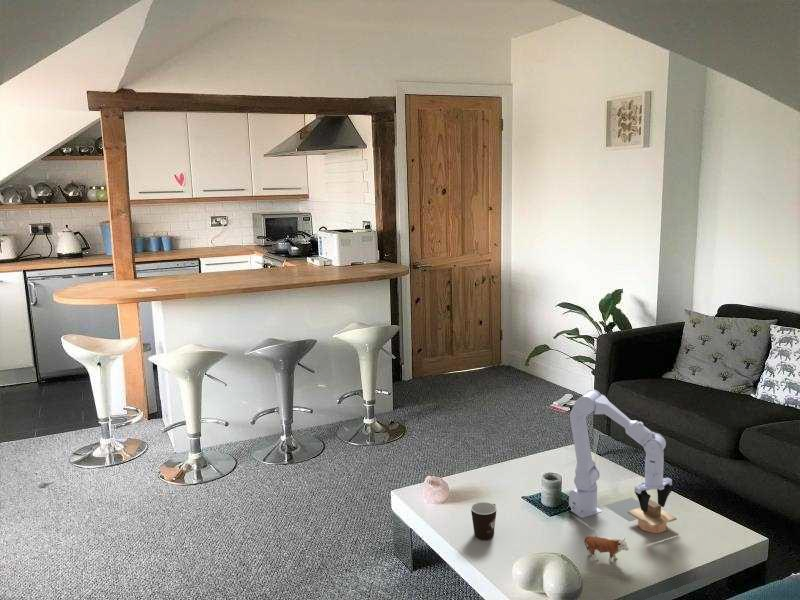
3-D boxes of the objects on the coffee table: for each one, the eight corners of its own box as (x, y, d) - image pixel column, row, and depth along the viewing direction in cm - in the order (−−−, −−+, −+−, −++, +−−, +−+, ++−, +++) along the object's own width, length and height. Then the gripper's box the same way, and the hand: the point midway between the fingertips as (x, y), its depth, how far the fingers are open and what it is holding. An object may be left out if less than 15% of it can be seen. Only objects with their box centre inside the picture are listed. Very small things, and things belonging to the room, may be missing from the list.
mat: (629, 522, 233) (629, 521, 233) (603, 506, 245) (603, 505, 245) (657, 513, 238) (657, 512, 238) (631, 498, 250) (631, 497, 250)
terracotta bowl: (651, 536, 224) (652, 525, 223) (632, 524, 232) (632, 513, 231) (672, 530, 227) (672, 519, 227) (652, 518, 235) (652, 508, 235)
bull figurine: (628, 567, 207) (628, 543, 205) (583, 559, 212) (583, 535, 211) (629, 560, 211) (630, 536, 209) (585, 552, 216) (585, 528, 215)
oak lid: (651, 527, 222) (651, 514, 221) (627, 512, 232) (628, 500, 231) (676, 519, 226) (676, 506, 226) (652, 505, 236) (652, 493, 235)
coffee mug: (480, 544, 222) (480, 516, 220) (466, 533, 230) (465, 506, 228) (509, 535, 227) (509, 507, 226) (494, 524, 235) (494, 497, 233)
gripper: (646, 479, 219) (644, 518, 222) (679, 470, 225) (677, 508, 228) (630, 471, 226) (629, 509, 228) (663, 463, 232) (662, 499, 234)
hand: (652, 508), depth 228 cm, fingers open, 7 cm apart
